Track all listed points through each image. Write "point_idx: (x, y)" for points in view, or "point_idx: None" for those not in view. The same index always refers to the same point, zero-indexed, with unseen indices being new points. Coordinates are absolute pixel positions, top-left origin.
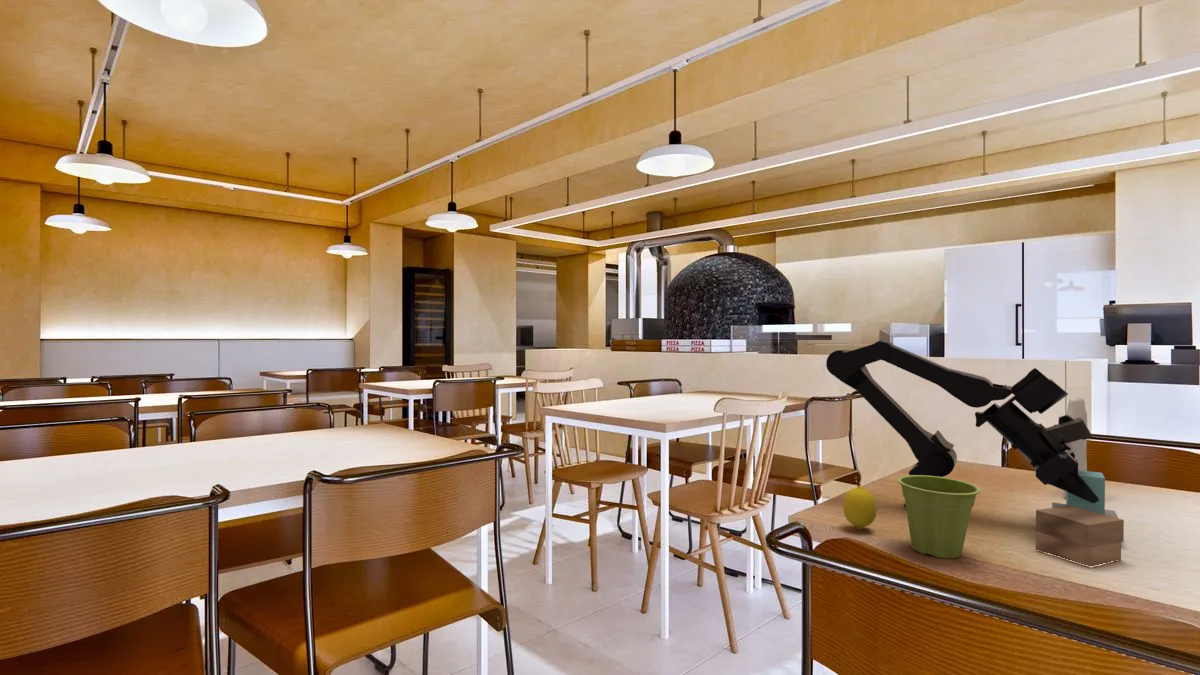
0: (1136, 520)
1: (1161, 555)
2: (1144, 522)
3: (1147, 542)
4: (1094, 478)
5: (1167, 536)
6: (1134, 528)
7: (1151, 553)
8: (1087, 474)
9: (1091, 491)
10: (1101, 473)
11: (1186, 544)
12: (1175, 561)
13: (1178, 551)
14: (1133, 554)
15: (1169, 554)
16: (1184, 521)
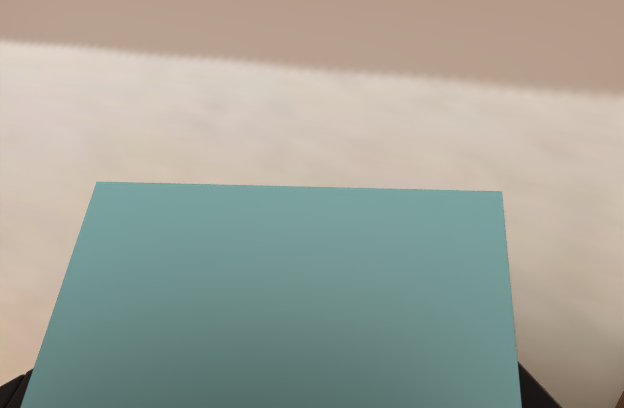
0: (71, 152)
1: (470, 144)
2: (87, 136)
3: (324, 159)
4: (512, 335)
5: (220, 103)
6: (166, 169)
7: (466, 167)
8: (310, 405)
9: (523, 371)
10: (140, 191)
11: (285, 73)
12: (519, 118)
13: (381, 98)
14: (530, 222)
15: (438, 122)
16: (51, 55)
